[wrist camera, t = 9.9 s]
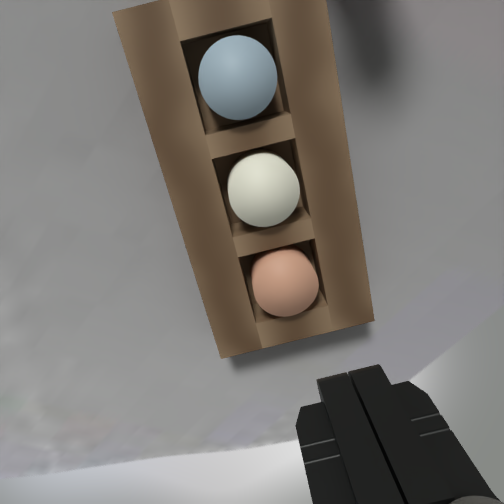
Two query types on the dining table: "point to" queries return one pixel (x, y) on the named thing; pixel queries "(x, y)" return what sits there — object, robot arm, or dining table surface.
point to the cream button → (262, 188)
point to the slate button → (237, 77)
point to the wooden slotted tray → (244, 140)
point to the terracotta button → (283, 280)
